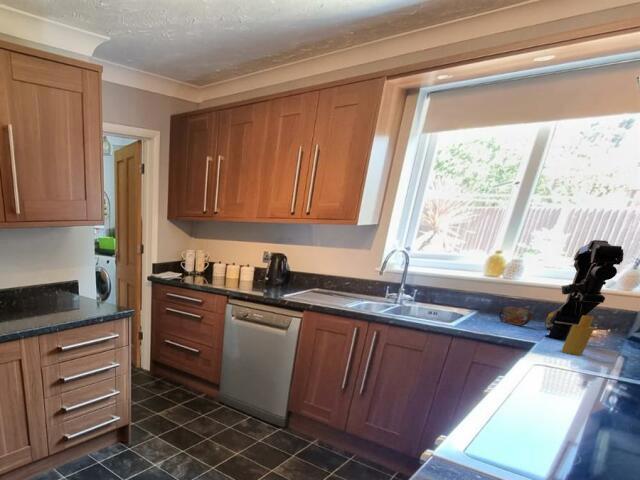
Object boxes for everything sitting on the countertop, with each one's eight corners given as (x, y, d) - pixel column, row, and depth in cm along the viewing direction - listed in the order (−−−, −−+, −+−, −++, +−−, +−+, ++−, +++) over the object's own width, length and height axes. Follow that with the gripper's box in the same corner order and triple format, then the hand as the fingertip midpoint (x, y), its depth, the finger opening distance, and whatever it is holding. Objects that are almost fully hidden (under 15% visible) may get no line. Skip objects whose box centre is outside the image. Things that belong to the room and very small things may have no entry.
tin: (496, 320, 227) (502, 304, 224) (501, 320, 227) (507, 304, 224) (523, 327, 213) (530, 310, 210) (529, 327, 213) (535, 310, 210)
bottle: (568, 350, 174) (585, 314, 169) (585, 354, 169) (603, 318, 163) (557, 350, 173) (573, 314, 167) (574, 355, 168) (591, 318, 162)
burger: (565, 328, 215) (573, 308, 211) (587, 335, 202) (596, 314, 199) (535, 326, 217) (543, 306, 213) (555, 332, 204) (564, 312, 201)
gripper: (563, 274, 181) (548, 310, 187) (573, 277, 166) (556, 316, 172) (600, 277, 175) (583, 314, 181) (613, 281, 161) (594, 321, 166)
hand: (578, 316), depth 175 cm, fingers open, 6 cm apart
